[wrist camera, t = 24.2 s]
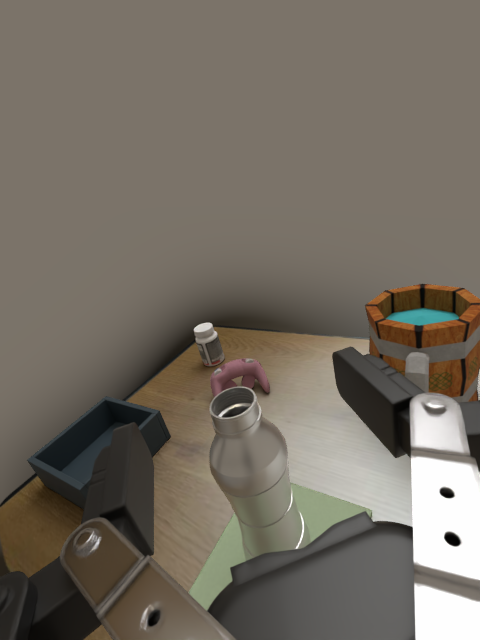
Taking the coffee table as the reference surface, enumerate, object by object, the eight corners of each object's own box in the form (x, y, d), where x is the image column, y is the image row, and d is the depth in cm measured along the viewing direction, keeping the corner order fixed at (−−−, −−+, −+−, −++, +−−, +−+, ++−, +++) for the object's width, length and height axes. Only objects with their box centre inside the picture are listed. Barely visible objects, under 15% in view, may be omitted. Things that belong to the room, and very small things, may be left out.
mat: (324, 711, 24) (323, 708, 24) (181, 610, 32) (179, 607, 32) (372, 513, 36) (371, 509, 35) (259, 474, 43) (258, 471, 43)
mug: (378, 366, 57) (372, 285, 51) (474, 373, 50) (481, 281, 44) (357, 456, 42) (345, 358, 36) (489, 484, 35) (502, 368, 29)
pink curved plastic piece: (268, 388, 61) (256, 352, 62) (273, 391, 57) (260, 352, 57) (217, 406, 60) (205, 369, 61) (218, 411, 56) (205, 371, 56)
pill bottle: (226, 353, 73) (216, 320, 70) (221, 366, 69) (210, 331, 66) (207, 355, 75) (196, 323, 71) (200, 368, 71) (189, 334, 67)
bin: (97, 518, 43) (79, 490, 41) (44, 485, 51) (26, 460, 48) (170, 436, 54) (159, 410, 52) (118, 419, 61) (106, 396, 59)
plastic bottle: (327, 548, 33) (293, 388, 25) (286, 613, 29) (230, 450, 21) (277, 512, 38) (234, 366, 29) (236, 564, 34) (173, 414, 25)
